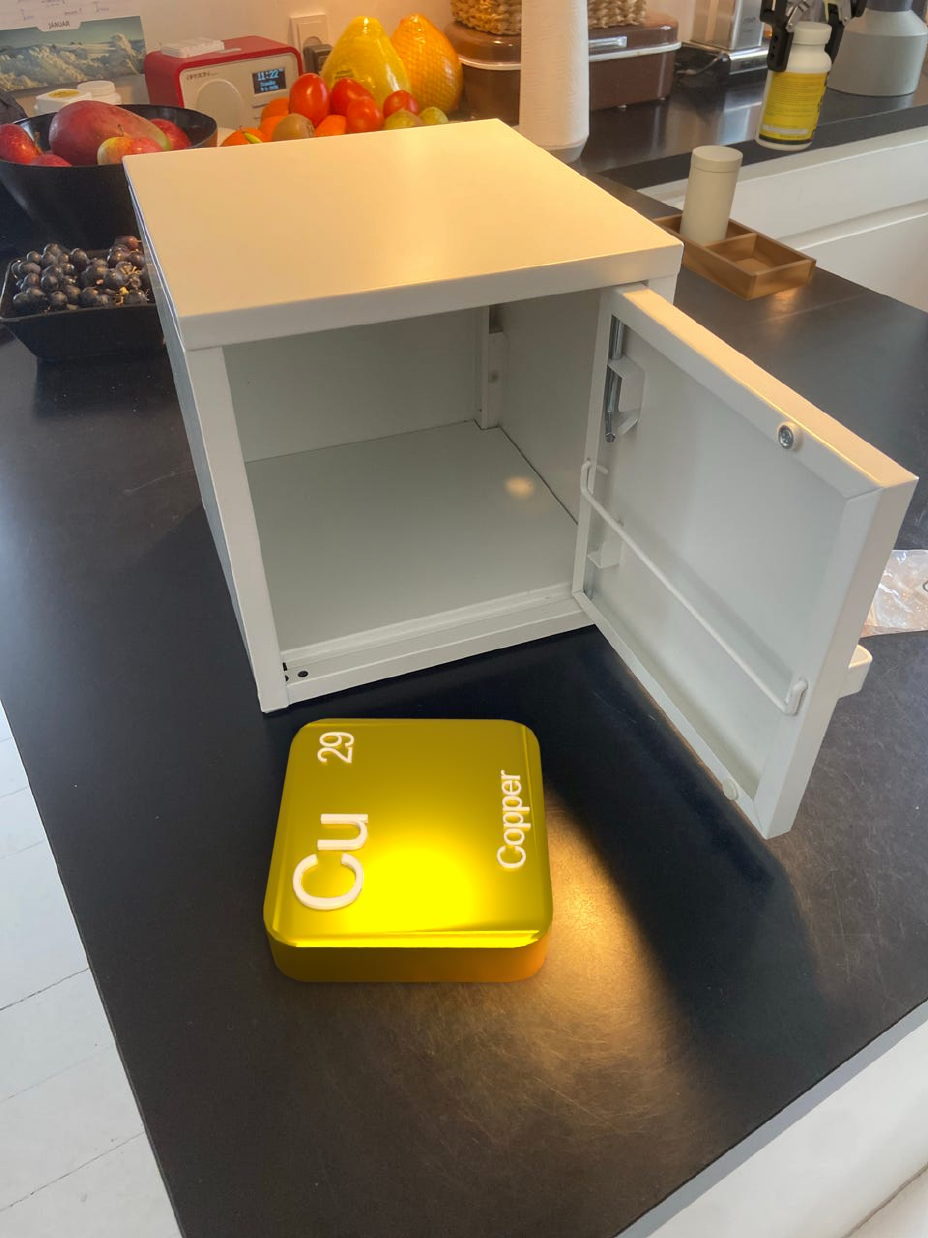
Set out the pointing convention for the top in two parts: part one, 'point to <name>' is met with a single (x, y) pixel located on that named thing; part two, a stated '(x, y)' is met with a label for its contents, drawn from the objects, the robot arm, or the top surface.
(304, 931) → the element tile
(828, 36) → the pill bottle
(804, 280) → the tray
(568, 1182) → the top surface
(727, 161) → the beige lidded canister
